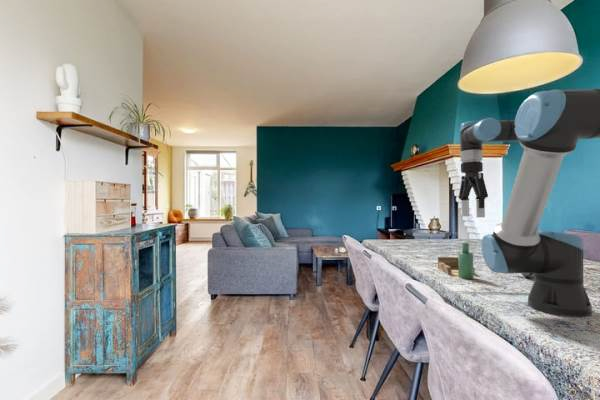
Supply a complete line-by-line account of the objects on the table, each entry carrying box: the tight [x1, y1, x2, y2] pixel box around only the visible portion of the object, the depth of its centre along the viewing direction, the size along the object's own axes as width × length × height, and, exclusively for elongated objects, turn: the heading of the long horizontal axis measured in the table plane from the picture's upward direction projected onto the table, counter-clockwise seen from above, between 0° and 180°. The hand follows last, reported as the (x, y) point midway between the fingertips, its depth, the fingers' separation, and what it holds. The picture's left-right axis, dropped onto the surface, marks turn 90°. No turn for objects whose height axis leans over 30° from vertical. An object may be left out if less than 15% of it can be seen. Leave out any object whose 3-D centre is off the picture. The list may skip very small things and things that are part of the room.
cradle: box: [437, 256, 482, 280], centre depth 144 cm, size 22×11×6 cm, turn 174°
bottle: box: [457, 240, 474, 280], centre depth 135 cm, size 5×5×15 cm
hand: (472, 217), depth 128 cm, fingers open, 13 cm apart
